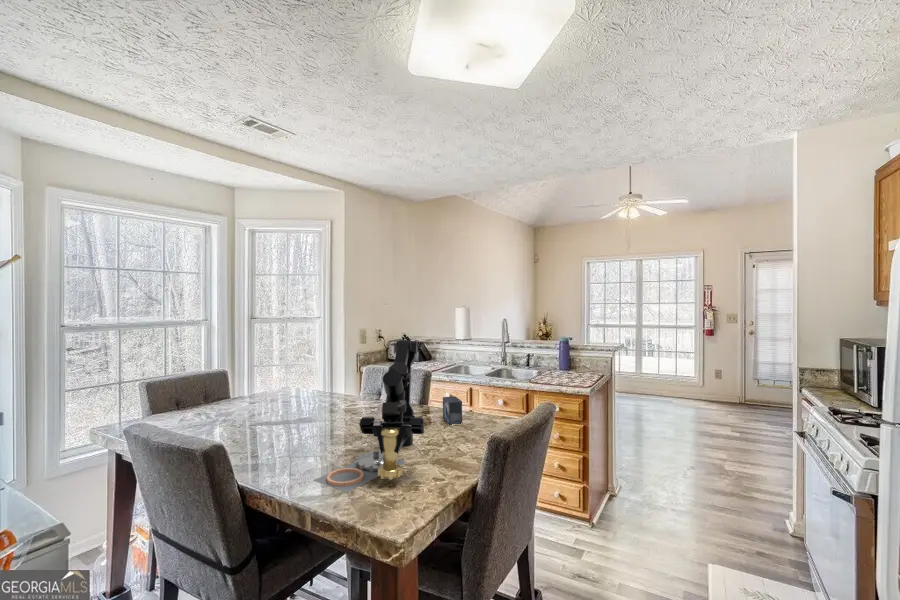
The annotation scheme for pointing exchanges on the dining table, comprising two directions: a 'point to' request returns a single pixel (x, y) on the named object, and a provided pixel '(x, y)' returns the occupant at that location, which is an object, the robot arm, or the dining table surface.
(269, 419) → the dining table surface
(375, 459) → the gear
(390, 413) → the robot arm
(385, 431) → the gold piece
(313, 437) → the dining table surface
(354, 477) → the gear board
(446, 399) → the small box
